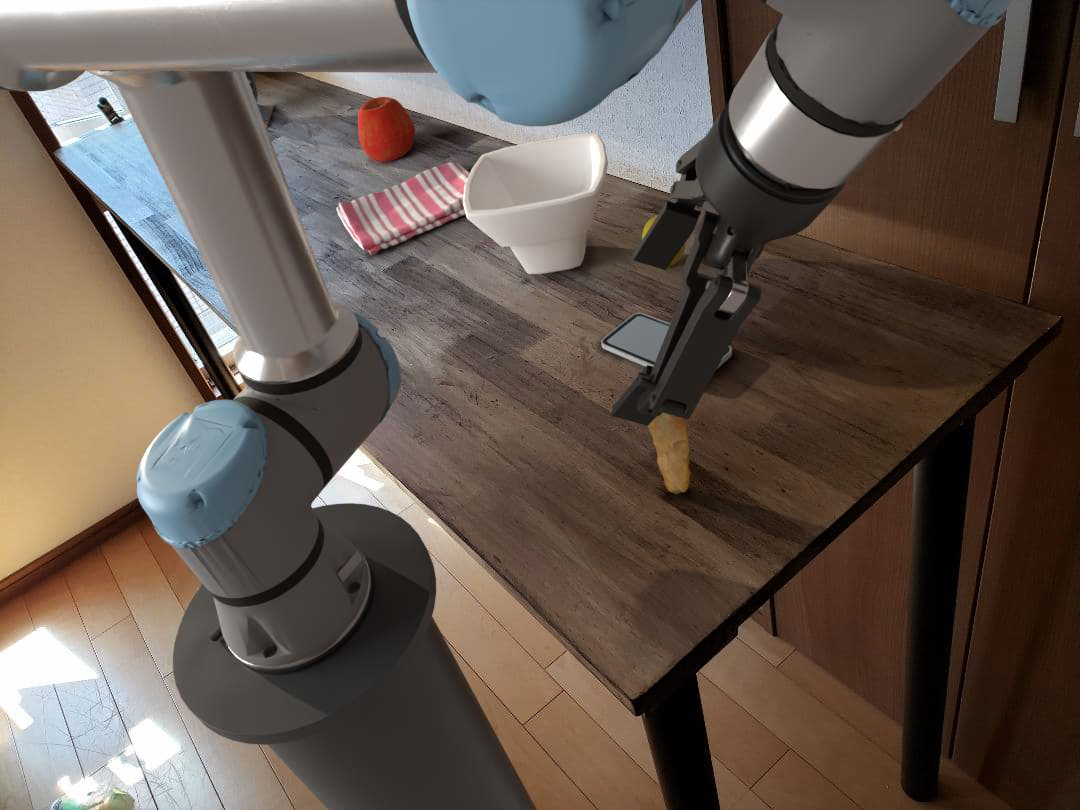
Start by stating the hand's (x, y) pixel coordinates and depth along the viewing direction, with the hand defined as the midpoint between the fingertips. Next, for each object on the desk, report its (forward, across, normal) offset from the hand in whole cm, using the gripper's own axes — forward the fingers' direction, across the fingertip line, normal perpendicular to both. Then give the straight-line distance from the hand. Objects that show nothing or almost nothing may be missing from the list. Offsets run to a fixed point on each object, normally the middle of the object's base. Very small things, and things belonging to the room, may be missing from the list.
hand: (640, 335), depth 62 cm
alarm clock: (+110, +100, +64) cm, 162 cm away
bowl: (+45, +39, -1) cm, 60 cm away
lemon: (+36, +36, -14) cm, 53 cm away
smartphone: (+30, +19, -13) cm, 38 cm away
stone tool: (+22, -2, -13) cm, 26 cm away
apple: (+78, +77, +29) cm, 114 cm away
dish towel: (+65, +55, +21) cm, 87 cm away
